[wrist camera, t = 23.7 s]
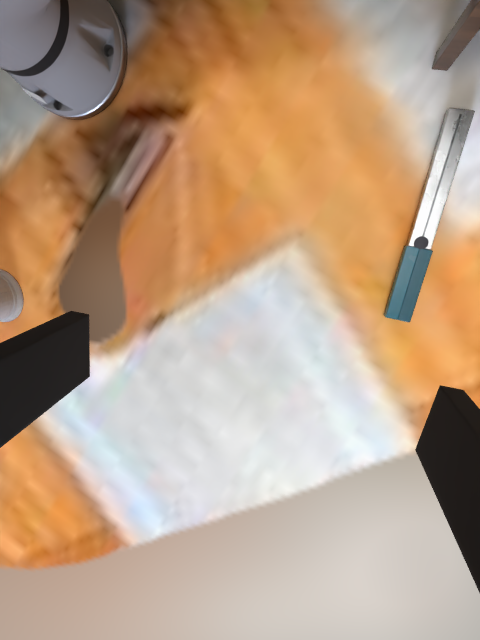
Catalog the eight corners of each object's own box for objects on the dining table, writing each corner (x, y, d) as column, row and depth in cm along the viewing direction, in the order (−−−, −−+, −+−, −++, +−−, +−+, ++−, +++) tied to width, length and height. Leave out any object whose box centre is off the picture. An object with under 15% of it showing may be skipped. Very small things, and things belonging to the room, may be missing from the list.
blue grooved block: (407, 320, 44) (410, 322, 43) (383, 315, 45) (385, 317, 44) (473, 113, 38) (478, 109, 37) (444, 110, 39) (448, 106, 38)
